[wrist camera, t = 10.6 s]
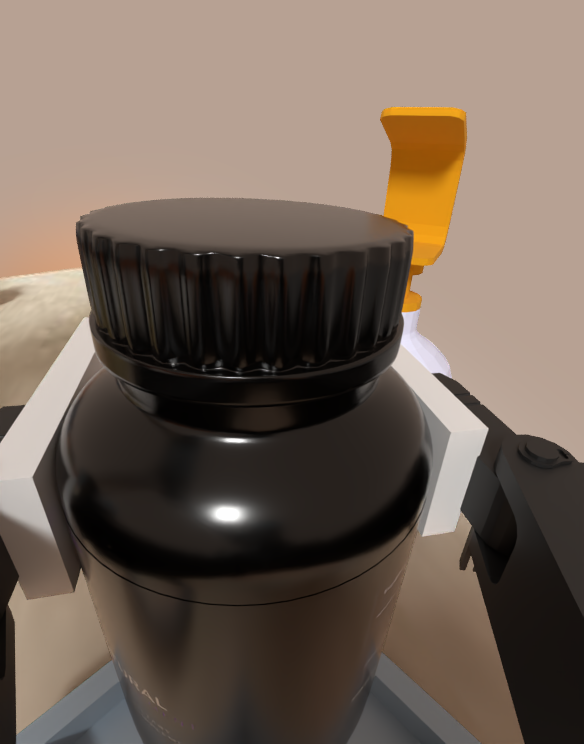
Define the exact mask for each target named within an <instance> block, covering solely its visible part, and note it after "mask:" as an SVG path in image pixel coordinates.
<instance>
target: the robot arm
mask: <svg viewBox="0 0 584 744" xmlns="http://www.w3.org/2000/svg"><path fill="white" fill-rule="evenodd" d="M391 366H392V367H393V368H394V369H395V370H396V371H397V372H398V373H399V374H400V375H401V376H402V377H403V379H404V380H405V381H406V382H407V384H408V385H409V386H410V388H411V389H412V391H413V392H414V394H415V396H416V397H417V399H418V401H419V403H420V405H421V407H422V410H423V412H424V414H425V417H426V420H427V423H428V427H429V430H430V434H431V439H432V447H433V468H432V473H431V478H430V484H429V489H428V493H427V498H426V502H425V506H424V509H423V513H422V516H421V520H420V523H419V527H418V531H419V532H420V534H421V536H422V537H423V536H430V535H436V534H442V533H449V532H454V531H455V528H456V525H457V522H458V519H459V516H460V513H461V511H462V513H463V514H464V515H465V517H466V518H467V520H468V521H469V522H470V524H471V525H472V527H471V530H470V532H469V535H468V538H467V541H466V544H465V546H464V549H463V552H462V555H461V558H460V570H465V569H466V567H467V564H468V561H469V559H470V556H472V560H473V563H474V568H473V572H476V574H477V577H478V581H479V584H480V588H481V591H482V595H483V598H484V602H485V605H486V609H487V612H488V616H489V619H490V623H491V626H492V630H493V634H494V637H495V641H496V644H497V648H498V651H499V655H500V658H501V662H502V665H503V669H504V672H505V676H506V679H507V683H508V686H509V690H510V693H511V697H512V700H513V704H514V707H515V711H516V714H517V718H518V722H519V725H520V729H521V732H522V736H523V739H524V743H525V744H584V463H579V462H578V461H577V460H576V459H575V458H574V457H573V456H572V455H571V454H570V453H569V452H568V451H567V450H565V449H564V448H562V447H560V446H558V445H557V444H555V443H553V442H550V441H548V440H546V439H543V438H540V437H535V436H530V435H516V434H515V433H514V432H513V431H512V430H511V429H510V428H508V427H507V426H506V425H505V424H504V423H503V422H502V421H501V420H500V419H498V418H497V417H496V416H495V415H494V414H493V413H492V412H491V411H490V410H488V409H487V408H486V407H485V406H484V405H481V404H480V401H478V400H477V399H476V398H475V397H474V396H473V395H470V392H468V391H467V390H466V389H465V388H464V387H463V386H462V385H461V384H460V383H458V382H457V381H455V380H453V379H451V378H449V377H447V376H445V375H443V374H441V373H430V372H429V371H428V370H427V369H426V368H425V367H424V366H423V365H422V364H421V363H420V362H419V361H418V360H417V359H416V358H415V357H414V356H413V355H412V354H411V353H410V352H409V351H408V350H407V349H406V348H404V347H403V346H402V345H401V344H400V348H399V351H398V355H397V357H396V359H395V361H394V362H393V364H392V365H391ZM102 367H103V365H102V364H101V363H100V361H99V360H98V358H97V356H96V353H95V349H94V345H93V340H92V335H91V331H90V326H89V317H84V318H83V320H82V321H81V323H80V324H79V326H78V327H77V329H76V330H75V332H74V333H73V335H72V336H71V338H70V339H69V341H68V342H67V344H66V345H65V347H64V348H63V350H62V351H61V353H60V354H59V356H58V357H57V359H56V360H55V362H54V363H53V365H52V366H51V368H50V369H49V371H48V372H47V374H46V375H45V377H44V378H43V380H42V381H41V383H40V384H39V386H38V387H37V389H36V390H35V392H34V393H33V395H32V396H31V398H30V399H29V401H28V402H27V404H26V405H21V406H7V407H2V408H1V409H0V744H16V688H15V622H14V619H13V616H12V612H11V610H10V608H9V606H8V602H9V600H10V598H11V595H12V593H13V590H14V588H15V586H16V583H17V581H19V583H20V585H21V588H22V590H23V592H24V594H25V596H26V598H27V600H29V599H35V598H41V597H48V596H54V595H60V594H66V593H73V592H74V591H75V587H76V584H77V580H78V577H79V573H80V569H81V565H80V562H79V559H78V556H77V553H76V550H75V547H74V544H73V541H72V537H71V534H70V531H69V528H68V525H67V522H66V519H65V516H64V513H63V510H62V505H61V501H60V497H59V493H58V488H57V482H56V477H55V453H56V448H57V442H58V438H59V434H60V431H61V429H62V426H63V423H64V420H65V417H66V415H67V413H68V411H69V409H70V407H71V405H72V403H73V401H74V400H75V398H76V397H77V395H78V394H79V392H80V391H81V389H82V388H83V387H84V385H85V384H86V383H87V382H88V381H89V380H90V379H91V377H92V376H93V375H94V374H95V373H96V372H97V371H99V370H100V369H101V368H102Z"/></svg>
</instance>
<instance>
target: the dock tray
mask: <svg viewBox="0 0 584 744" xmlns="http://www.w3.org/2000/svg"><path fill="white" fill-rule="evenodd" d="M16 744H143V742H142V740H141V738H140V736H139V734H138V732H137V730H136V727H135V724H134V722H133V719H132V716H131V714H130V711H129V709H128V706H127V703H126V700H125V697H124V694H123V691H122V688H121V685H120V682H119V679H118V676H117V673H116V670H115V667H114V664H113V661H112V660H111V661H110V662H108V663H107V664H106V665H105V666H103V667H102V668H101V669H100V670H98V671H97V672H96V673H94V674H93V675H92V676H91V677H89V678H88V679H87V680H86V681H84V682H83V683H82V684H81V685H79V686H78V687H77V688H75V689H74V690H73V691H72V692H70V693H69V694H68V695H67V696H65V697H64V698H63V699H62V700H60V701H59V702H58V703H56V704H55V705H54V706H53V707H51V708H50V709H49V710H48V711H46V712H45V713H44V714H43V715H41V716H40V717H39V718H37V719H36V720H35V721H34V722H32V723H31V724H30V725H29V726H27V727H26V728H25V729H23V730H22V731H21V732H20V733H18V734H17V735H16ZM347 744H482V743H480V742H479V741H478V740H477V739H476V738H475V737H474V736H473V735H472V734H471V733H470V732H468V731H467V730H466V729H465V728H464V727H463V726H462V725H461V724H460V723H459V722H458V721H457V720H455V719H454V718H453V717H452V716H451V715H450V714H449V713H448V712H447V711H446V710H445V709H443V708H442V707H441V706H440V705H439V704H438V703H437V702H436V701H435V700H434V699H433V698H431V697H430V696H429V695H428V694H427V693H426V692H425V691H424V690H423V689H422V688H421V687H420V686H418V685H417V684H416V683H415V682H414V681H413V680H412V679H411V678H410V677H409V676H408V675H406V674H405V673H404V672H403V671H402V670H401V669H400V668H399V667H398V666H397V665H396V664H394V663H393V662H392V661H391V660H390V659H389V658H388V657H387V656H386V655H385V654H384V653H383V652H382V653H381V656H380V660H379V663H378V667H377V670H376V673H375V677H374V680H373V684H372V687H371V690H370V693H369V696H368V698H367V701H366V704H365V707H364V710H363V713H362V715H361V717H360V720H359V722H358V724H357V726H356V728H355V730H354V732H353V734H352V735H351V737H350V739H349V740H348V742H347Z"/></svg>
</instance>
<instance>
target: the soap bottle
mask: <svg viewBox="0 0 584 744" xmlns="http://www.w3.org/2000/svg"><path fill="white" fill-rule="evenodd" d="M380 121H381V122H382V125H383V127H384V129H385V131H386V134H387V136H388V138H389V140H390V142H391V148H392V156H391V157H392V158H391V167H390V175H389V181H388V189H387V195H386V203H385V209H384V217H387V218H391V219H395V220H397V221H398V222H400V223H403V224H405V225H408V228H409V229H411V230H413V231H414V243H413V255H412V261H411V266H410V272H409V277H408V282H407V288H406V293H405V298H404V303H403V308H402V315H403V318H404V328H403V334H402V339H401V343H400V344H401V345H402V346H403V347H404V348H406V349H407V350H408V351H409V352H410V353H411V354H412V355H413V356H414V357H415V358H416V359H417V360H418V361H419V362H420V363H421V364H422V365H423V366H424V367H425V368H426V369H427V370H428V371H429V372H430V373H441V374H443V375H445V376H447V377H449V378H451V379H452V376H451V371H450V365H449V363H448V361H447V360H446V358H445V356H444V355H443V354H442V352H441V351H439V349H438V348H437V347H436V346H435V345H434V344H433V343H432V342H431V341H429V340H428V339H427V338H425V337H424V336H422V335H421V334H420V333H418V331H417V329H416V328H417V322H418V318H419V313H420V308H421V301H422V298H421V296H420V295H419V294H417V293H415V292H412V291H410V286H411V281H412V276H413V275H419V274H421V273H423V267H424V266H425V265H426V266H427V265H432V264H434V262H435V261H436V260H437V258H438V257H439V256H440V255H441V253H442V251H443V248H444V245H445V242H446V237H447V233H448V229H449V225H450V220H451V215H452V210H453V206H454V201H455V197H456V193H457V188H458V184H459V179H460V174H461V170H462V165H463V160H464V155H465V149H466V141H467V128H466V112H464V111H463V110H461V109H457V108H452V107H451V108H450V107H449V108H446V107H391V108H387V109H384V110H383V111H382V114H381V118H380Z"/></svg>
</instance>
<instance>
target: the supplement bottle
mask: <svg viewBox="0 0 584 744" xmlns="http://www.w3.org/2000/svg"><path fill="white" fill-rule="evenodd" d="M76 237H77V244H78V249H79V254H80V259H81V264H82V269H83V273H84V278H85V283H86V288H87V292H88V297H89V301H90V306H91V309H92V310H91V312H90V315H89V326H90V331H91V335H92V340H93V345H94V349H95V353H96V356H97V358H98V360H99V361H100V363H101V364H102V365H103V367H102V368H101V369H100V370H99V371H97V372H96V373H95V374H94V375H93V376H92V377H91V379H90V380H89V381H88V382H87V383H86V384H85V385H84V387H83V388H82V389H81V391H80V392H79V394H78V395H77V397H76V398H75V400H74V401H73V403H72V405H71V407H70V409H69V411H68V413H67V415H66V417H65V420H64V423H63V426H62V429H61V431H60V434H59V438H58V442H57V448H56V453H55V477H56V482H57V488H58V493H59V497H60V501H61V505H62V510H63V513H64V516H65V519H66V522H67V525H68V528H69V531H70V534H71V537H72V541H73V544H74V547H75V550H76V553H77V556H78V559H79V562H80V565H81V568H82V571H83V574H84V577H85V580H86V583H87V586H88V589H89V592H90V595H91V598H92V601H93V604H94V607H95V610H96V613H97V616H98V619H99V622H100V625H101V628H102V631H103V634H104V637H105V640H106V643H107V646H108V649H109V652H110V655H111V658H112V661H113V664H114V667H115V670H116V673H117V676H118V679H119V682H120V685H121V688H122V691H123V694H124V697H125V700H126V703H127V706H128V709H129V711H130V714H131V716H132V719H133V722H134V724H135V727H136V730H137V732H138V734H139V736H140V738H141V740H142V742H143V744H347V742H348V740H349V739H350V737H351V735H352V734H353V732H354V730H355V728H356V726H357V724H358V722H359V720H360V717H361V715H362V713H363V710H364V707H365V704H366V701H367V698H368V696H369V693H370V690H371V687H372V684H373V680H374V677H375V673H376V670H377V667H378V663H379V660H380V656H381V653H382V650H383V646H384V643H385V639H386V636H387V632H388V629H389V626H390V622H391V619H392V615H393V612H394V609H395V605H396V602H397V598H398V595H399V592H400V588H401V585H402V581H403V578H404V574H405V571H406V568H407V564H408V561H409V557H410V554H411V551H412V547H413V544H414V540H415V537H416V534H417V530H418V527H419V523H420V520H421V516H422V513H423V509H424V506H425V502H426V498H427V493H428V489H429V484H430V478H431V473H432V468H433V447H432V439H431V434H430V430H429V427H428V423H427V420H426V417H425V414H424V412H423V410H422V407H421V405H420V403H419V401H418V399H417V397H416V396H415V394H414V392H413V391H412V389H411V388H410V386H409V385H408V384H407V382H406V381H405V380H404V379H403V377H402V376H401V375H400V374H399V373H398V372H397V371H396V370H395V369H394V368H393V367H392V366H391V365H392V364H393V362H394V361H395V359H396V357H397V355H398V351H399V348H400V343H401V339H402V334H403V328H404V318H403V315H402V308H403V303H404V298H405V293H406V288H407V282H408V277H409V272H410V266H411V261H412V255H413V243H414V231H413V230H411V229H409V228H408V225H405V224H403V223H400V222H398V221H397V220H395V219H391V218H387V217H384V216H382V215H378V214H373V213H369V212H365V211H360V210H355V209H350V208H344V207H337V206H331V205H324V204H314V203H306V202H294V201H283V200H267V199H244V198H181V199H163V200H151V201H142V202H133V203H126V204H121V205H115V206H109V207H105V208H103V209H99V210H94V211H91V212H90V214H86V215H83V216H81V217H80V221H78V222H77V223H76Z"/></svg>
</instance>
